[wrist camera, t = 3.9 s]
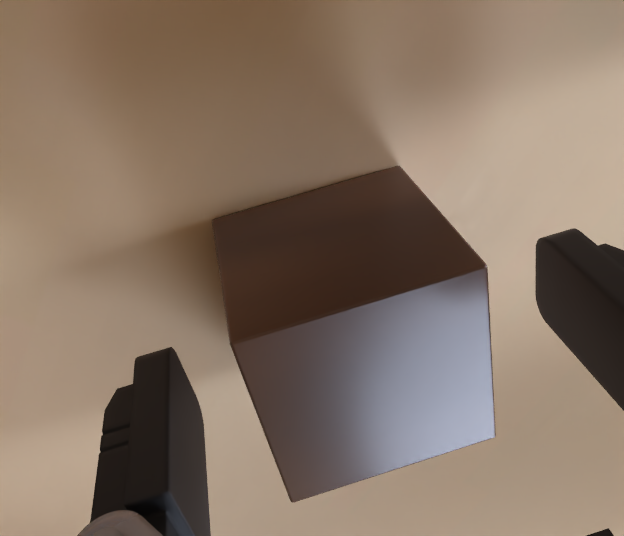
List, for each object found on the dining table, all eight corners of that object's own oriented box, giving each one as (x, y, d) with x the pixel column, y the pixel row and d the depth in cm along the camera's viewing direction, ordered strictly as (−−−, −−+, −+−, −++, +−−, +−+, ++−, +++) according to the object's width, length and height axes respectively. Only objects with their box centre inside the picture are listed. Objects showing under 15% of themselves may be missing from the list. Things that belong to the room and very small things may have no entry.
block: (261, 361, 16) (291, 504, 12) (211, 218, 13) (229, 343, 10) (419, 313, 16) (496, 437, 12) (399, 164, 14) (488, 265, 10)
